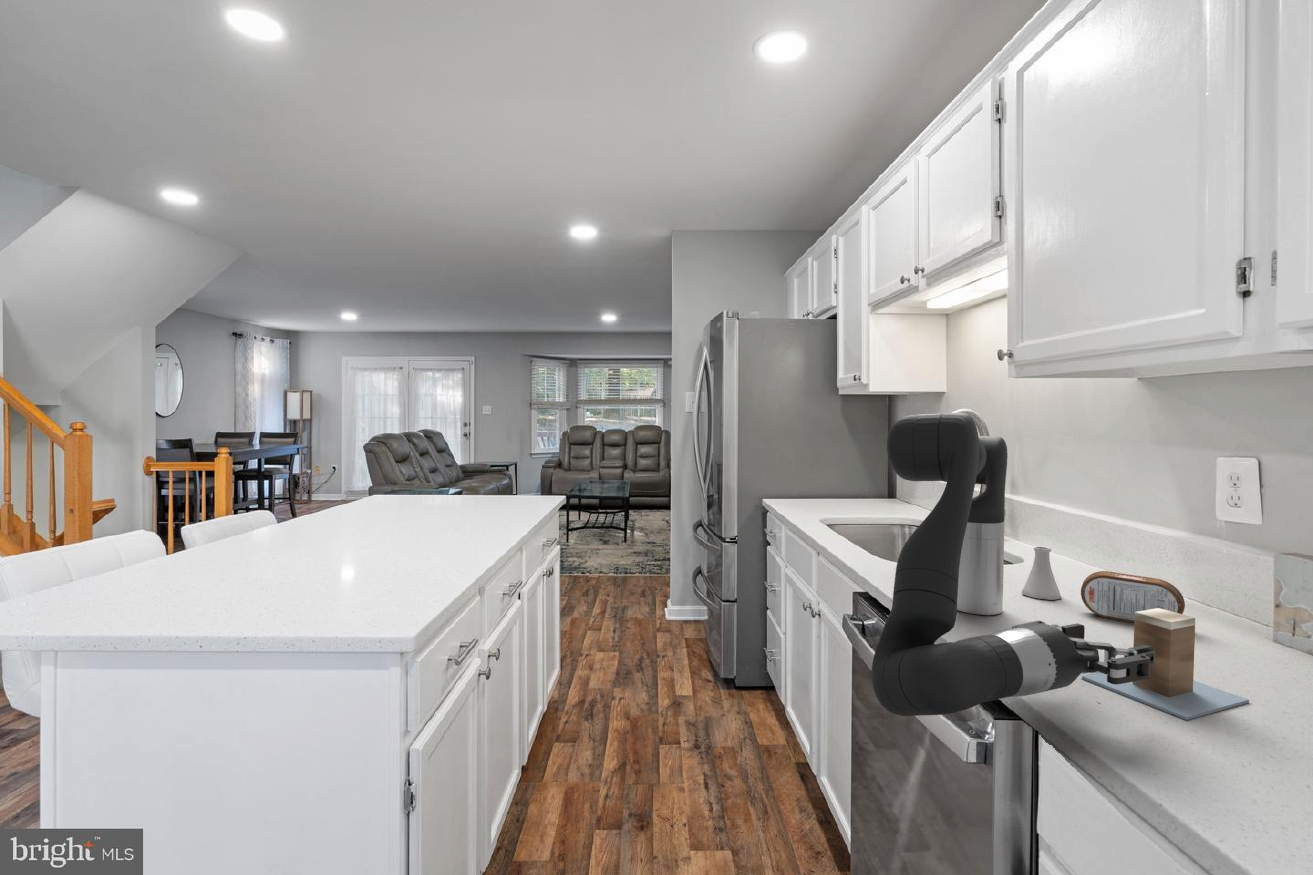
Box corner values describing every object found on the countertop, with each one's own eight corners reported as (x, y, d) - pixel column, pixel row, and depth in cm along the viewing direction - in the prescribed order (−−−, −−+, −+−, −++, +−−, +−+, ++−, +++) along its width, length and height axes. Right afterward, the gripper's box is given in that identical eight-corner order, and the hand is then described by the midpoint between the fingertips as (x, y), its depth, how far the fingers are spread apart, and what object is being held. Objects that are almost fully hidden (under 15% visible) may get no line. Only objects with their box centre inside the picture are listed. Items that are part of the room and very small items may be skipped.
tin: (1184, 628, 110) (1185, 581, 110) (1183, 633, 108) (1184, 584, 108) (1081, 610, 120) (1082, 567, 120) (1078, 614, 118) (1079, 570, 118)
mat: (1081, 678, 90) (1081, 675, 90) (1141, 665, 94) (1141, 662, 94) (1186, 720, 77) (1186, 716, 77) (1249, 702, 82) (1249, 699, 82)
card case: (1132, 683, 87) (1134, 612, 87) (1156, 678, 89) (1158, 607, 88) (1168, 697, 83) (1171, 622, 82) (1192, 691, 85) (1195, 617, 84)
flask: (1066, 595, 130) (1067, 547, 130) (1056, 603, 125) (1057, 553, 125) (1027, 588, 135) (1028, 542, 135) (1016, 595, 130) (1017, 547, 130)
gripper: (1083, 649, 69) (1177, 631, 75) (975, 611, 82) (1062, 598, 88) (1082, 717, 70) (1175, 693, 75) (974, 668, 83) (1060, 651, 89)
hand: (1114, 642), depth 82 cm, fingers open, 8 cm apart
